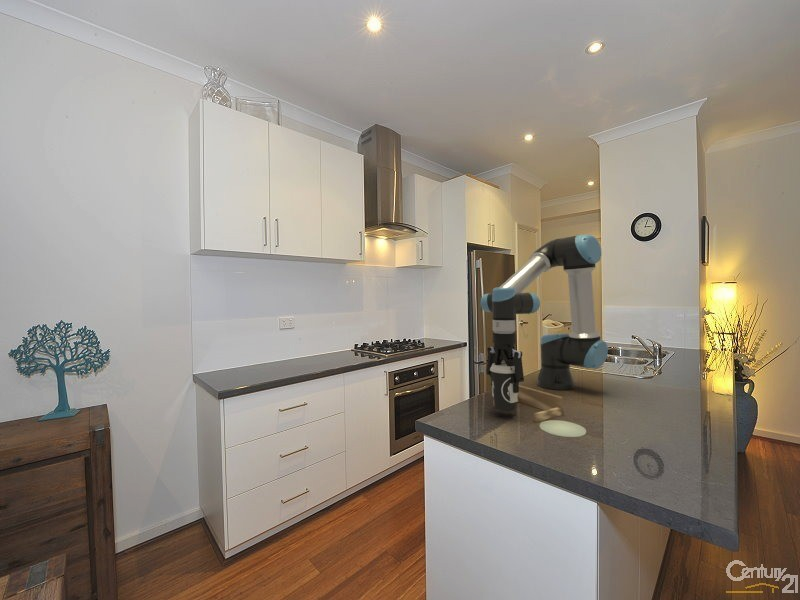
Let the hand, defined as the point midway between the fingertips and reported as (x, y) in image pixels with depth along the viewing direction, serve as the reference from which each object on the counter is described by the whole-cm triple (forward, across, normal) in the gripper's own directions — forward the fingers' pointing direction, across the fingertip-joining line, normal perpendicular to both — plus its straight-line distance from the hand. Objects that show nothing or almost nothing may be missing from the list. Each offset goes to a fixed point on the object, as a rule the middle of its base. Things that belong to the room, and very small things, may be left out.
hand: (504, 398), depth 119 cm
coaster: (+6, +18, +6) cm, 19 cm away
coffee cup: (+3, 0, 0) cm, 3 cm away
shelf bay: (+6, 0, +10) cm, 12 cm away
